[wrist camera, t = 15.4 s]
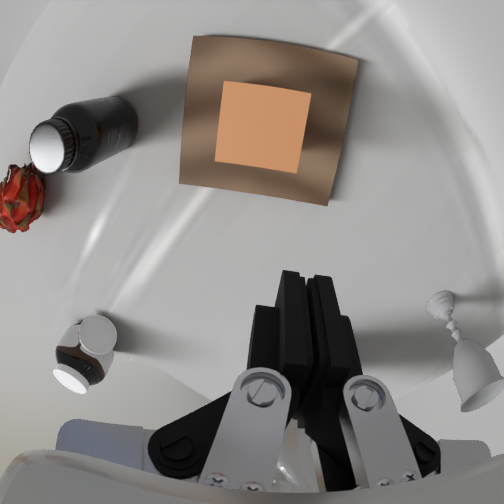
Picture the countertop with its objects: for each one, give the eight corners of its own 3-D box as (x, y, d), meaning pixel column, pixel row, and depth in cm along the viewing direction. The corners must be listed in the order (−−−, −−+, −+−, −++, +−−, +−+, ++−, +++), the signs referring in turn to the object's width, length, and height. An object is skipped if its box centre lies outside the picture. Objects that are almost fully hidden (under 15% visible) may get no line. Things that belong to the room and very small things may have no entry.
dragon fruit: (26, 211, 37) (56, 153, 34) (36, 251, 35) (67, 191, 31) (-16, 206, 29) (9, 140, 26) (-12, 249, 27) (12, 180, 23)
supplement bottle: (119, 84, 26) (50, 91, 16) (150, 129, 29) (90, 155, 18) (81, 121, 28) (12, 145, 18) (110, 163, 31) (47, 201, 21)
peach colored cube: (291, 154, 27) (296, 173, 21) (228, 144, 27) (214, 161, 21) (302, 93, 24) (311, 93, 18) (236, 83, 24) (223, 81, 18)
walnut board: (325, 201, 32) (327, 206, 30) (183, 179, 32) (179, 183, 30) (354, 61, 23) (358, 60, 22) (197, 38, 23) (193, 35, 22)
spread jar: (79, 341, 50) (55, 384, 40) (64, 300, 44) (32, 346, 34) (130, 357, 50) (109, 405, 40) (119, 316, 44) (91, 369, 34)
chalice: (415, 321, 40) (451, 417, 25) (427, 287, 37) (476, 387, 21) (450, 317, 40) (491, 404, 24) (464, 284, 36) (516, 373, 21)
